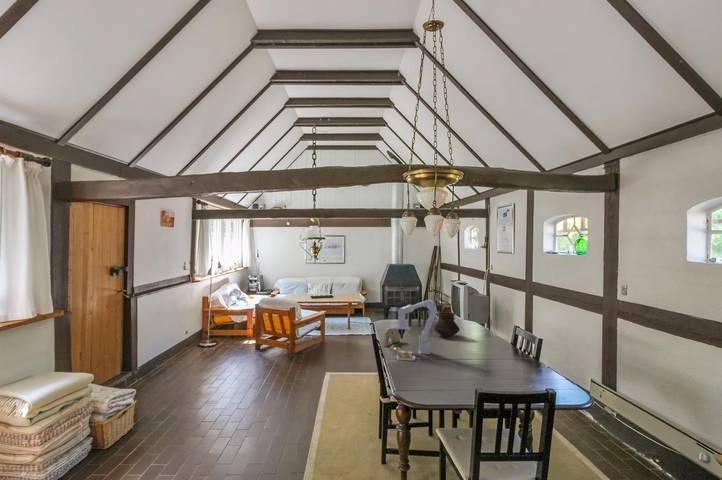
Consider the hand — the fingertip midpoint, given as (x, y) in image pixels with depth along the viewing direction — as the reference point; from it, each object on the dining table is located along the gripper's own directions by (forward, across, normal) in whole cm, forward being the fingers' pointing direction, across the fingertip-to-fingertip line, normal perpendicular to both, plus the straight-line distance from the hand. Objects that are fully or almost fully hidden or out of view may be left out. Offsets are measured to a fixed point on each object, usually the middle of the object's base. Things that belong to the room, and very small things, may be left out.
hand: (401, 338), depth 311 cm
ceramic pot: (+10, -42, -55) cm, 70 cm away
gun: (+10, +9, -20) cm, 24 cm away
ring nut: (+9, +5, +6) cm, 12 cm away
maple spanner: (+9, -4, +22) cm, 24 cm away
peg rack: (+10, -4, +22) cm, 24 cm away
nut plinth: (+10, +4, +6) cm, 13 cm away
